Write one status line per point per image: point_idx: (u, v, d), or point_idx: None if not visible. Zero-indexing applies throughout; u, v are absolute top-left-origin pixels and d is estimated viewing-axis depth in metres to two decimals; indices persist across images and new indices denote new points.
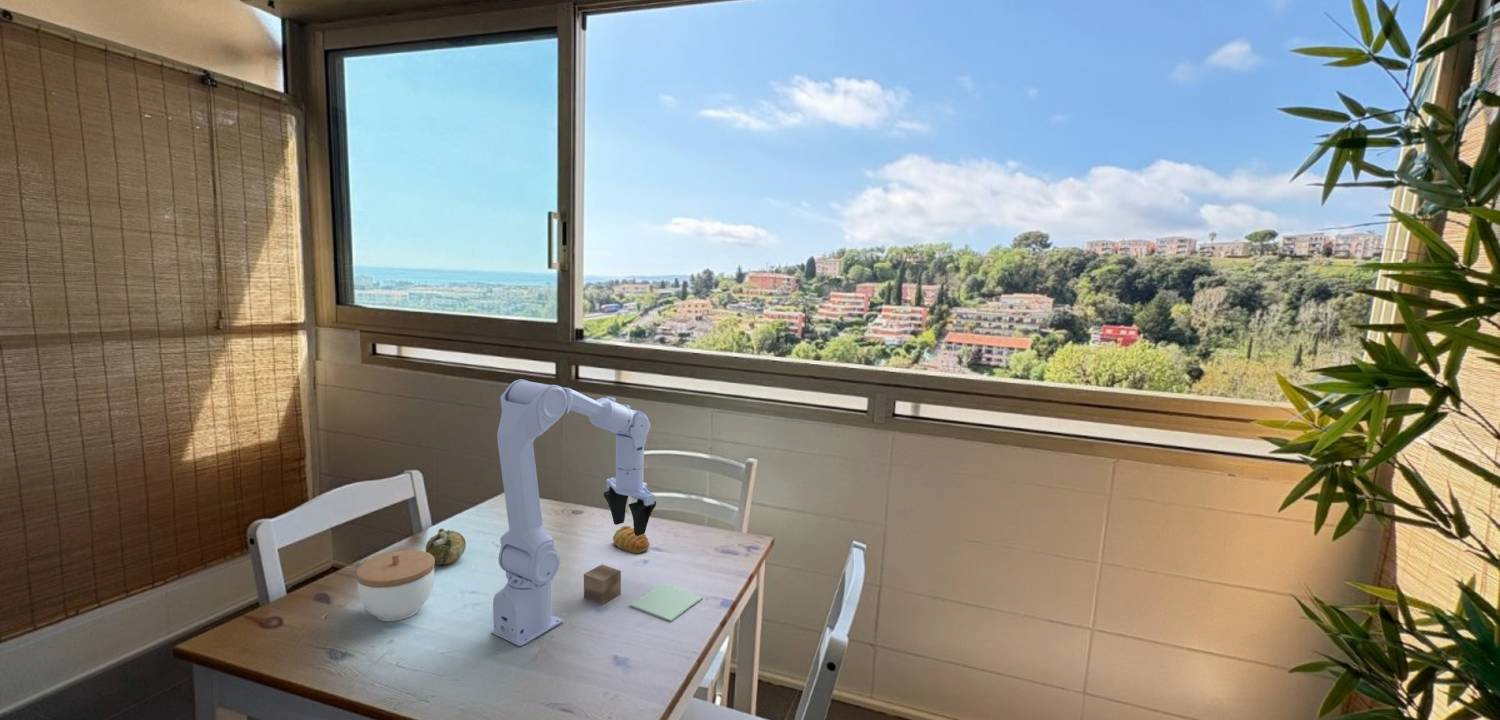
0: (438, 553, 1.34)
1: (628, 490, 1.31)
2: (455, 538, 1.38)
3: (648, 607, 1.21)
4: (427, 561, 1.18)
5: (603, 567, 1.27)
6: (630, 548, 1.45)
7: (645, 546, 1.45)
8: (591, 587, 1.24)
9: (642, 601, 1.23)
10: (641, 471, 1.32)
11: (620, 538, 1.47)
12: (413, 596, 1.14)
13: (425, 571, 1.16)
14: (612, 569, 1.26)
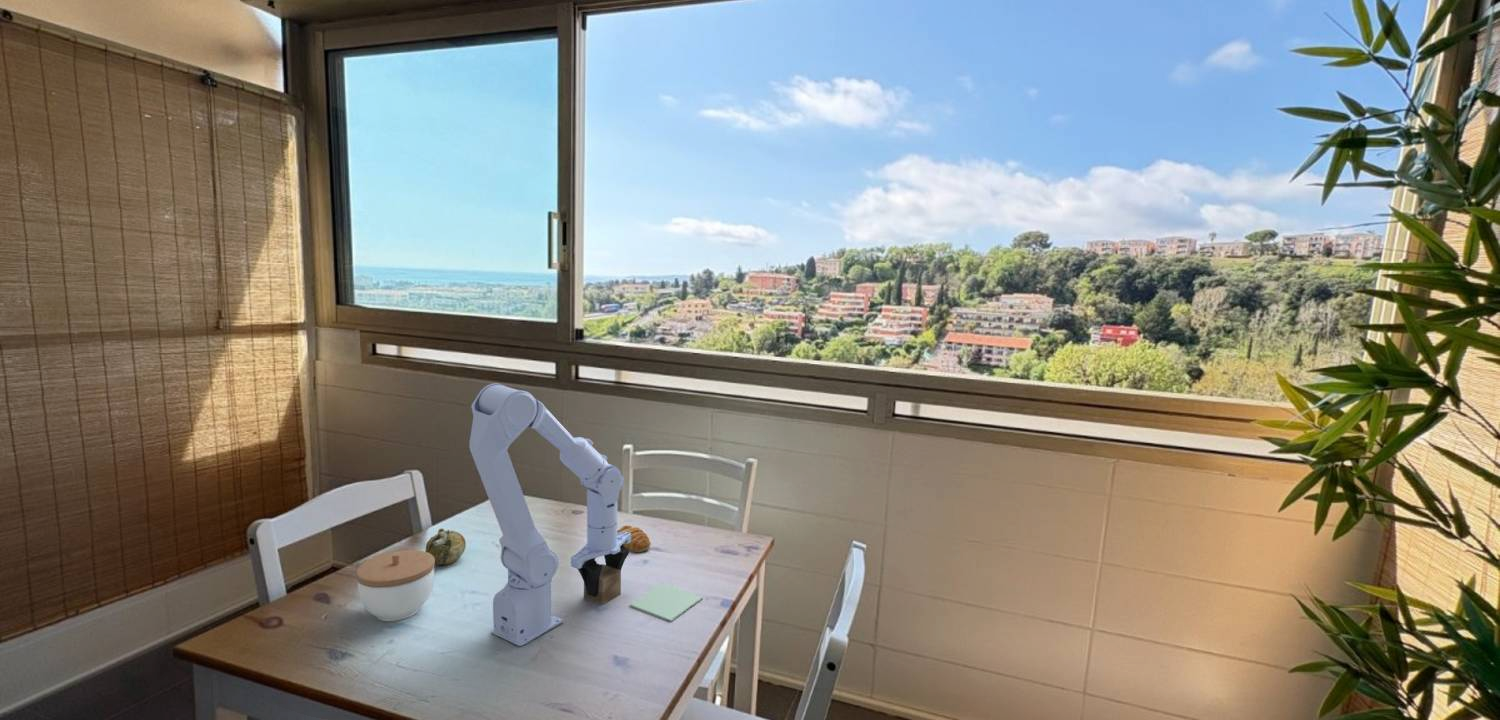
0: (438, 553, 1.34)
1: (587, 545, 1.23)
2: (455, 538, 1.38)
3: (648, 607, 1.21)
4: (427, 561, 1.18)
5: (603, 567, 1.27)
6: (632, 548, 1.45)
7: (646, 545, 1.46)
8: None
9: (642, 601, 1.23)
10: (596, 532, 1.21)
11: None
12: (413, 596, 1.14)
13: (425, 571, 1.16)
14: (613, 569, 1.26)
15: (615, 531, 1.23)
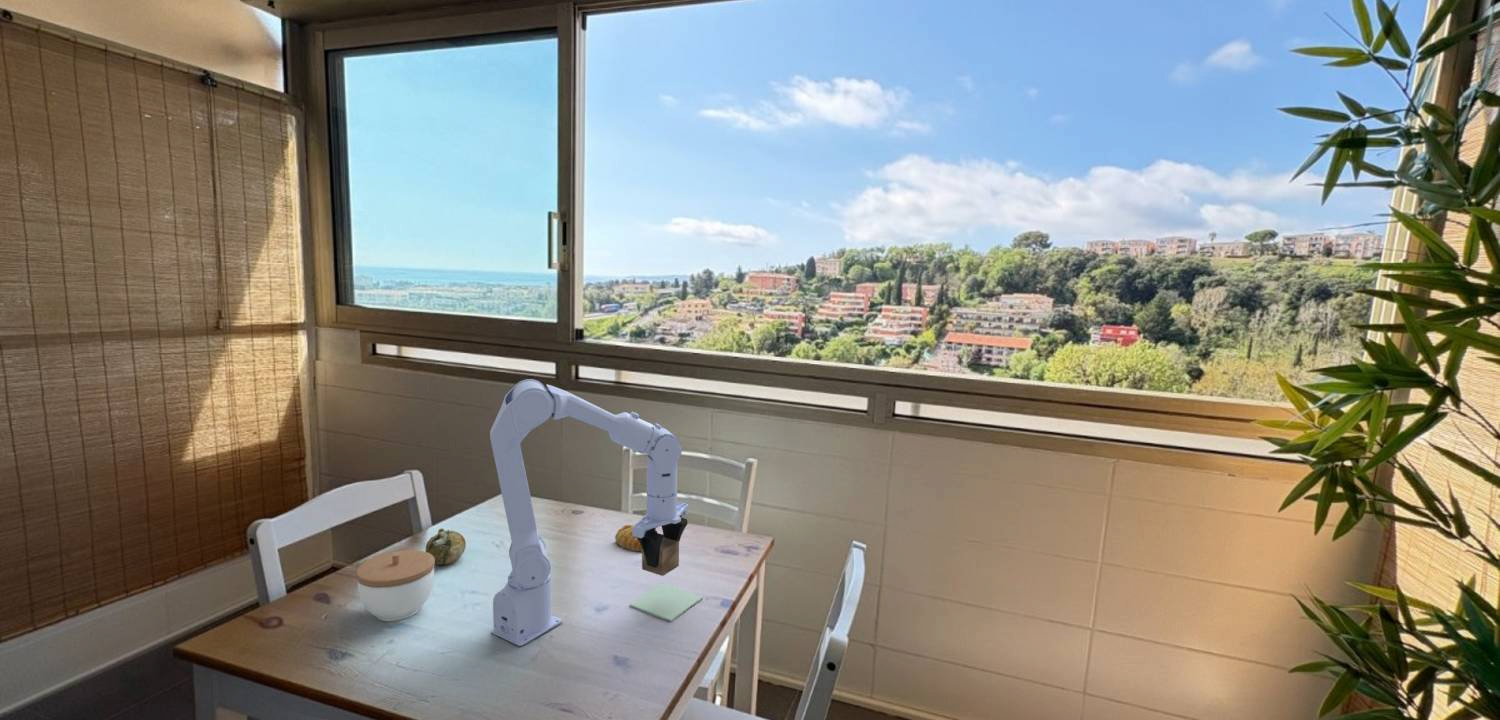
0: (438, 553, 1.34)
1: (646, 515, 1.21)
2: (455, 538, 1.38)
3: (648, 607, 1.21)
4: (427, 561, 1.18)
5: None
6: (633, 547, 1.46)
7: None
8: None
9: (642, 601, 1.23)
10: (657, 501, 1.18)
11: (622, 537, 1.48)
12: (413, 596, 1.14)
13: (425, 571, 1.16)
14: (670, 540, 1.24)
15: (675, 500, 1.21)
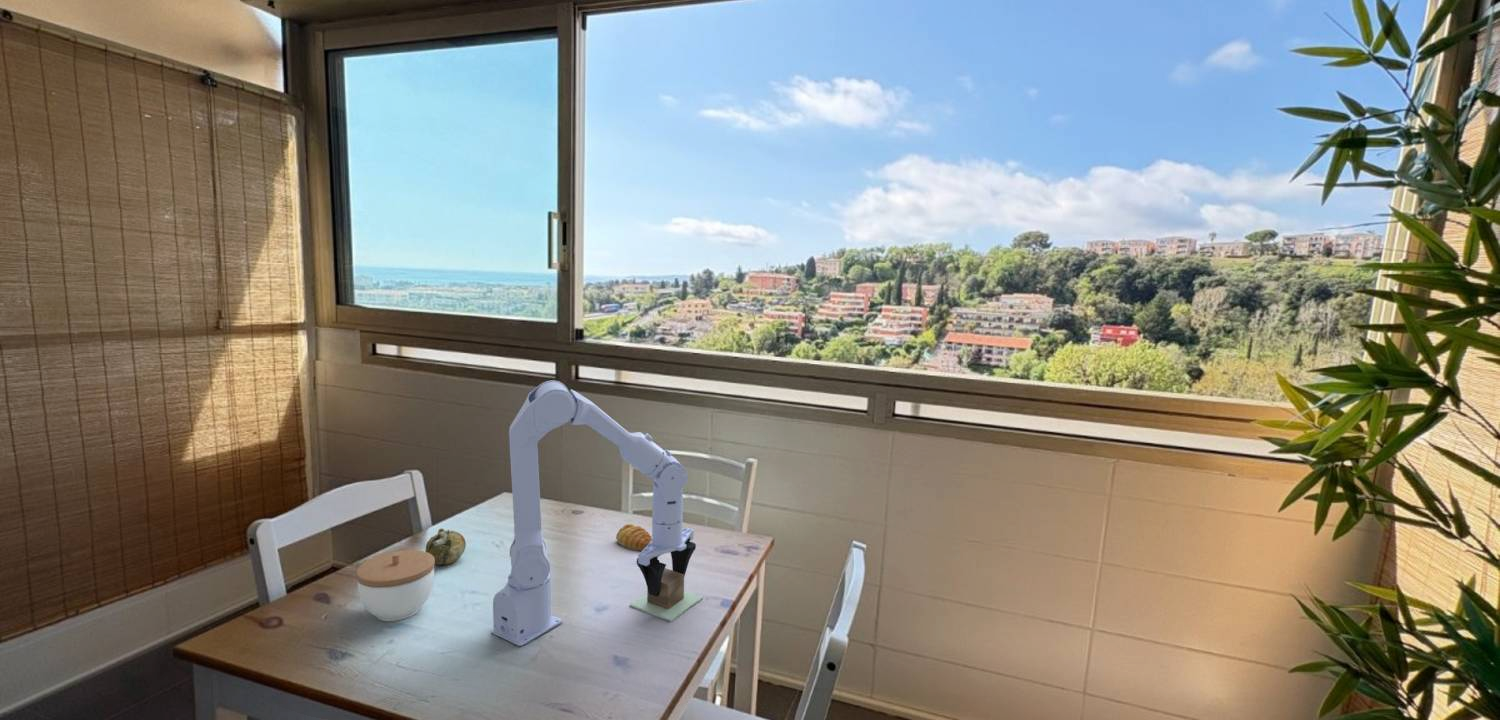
0: (438, 553, 1.34)
1: (652, 542, 1.21)
2: (455, 538, 1.38)
3: (648, 607, 1.21)
4: (427, 561, 1.18)
5: (665, 570, 1.25)
6: (635, 546, 1.46)
7: None
8: None
9: (642, 601, 1.23)
10: (663, 528, 1.19)
11: (623, 536, 1.48)
12: (413, 596, 1.14)
13: (425, 571, 1.16)
14: (676, 573, 1.25)
15: (681, 527, 1.21)
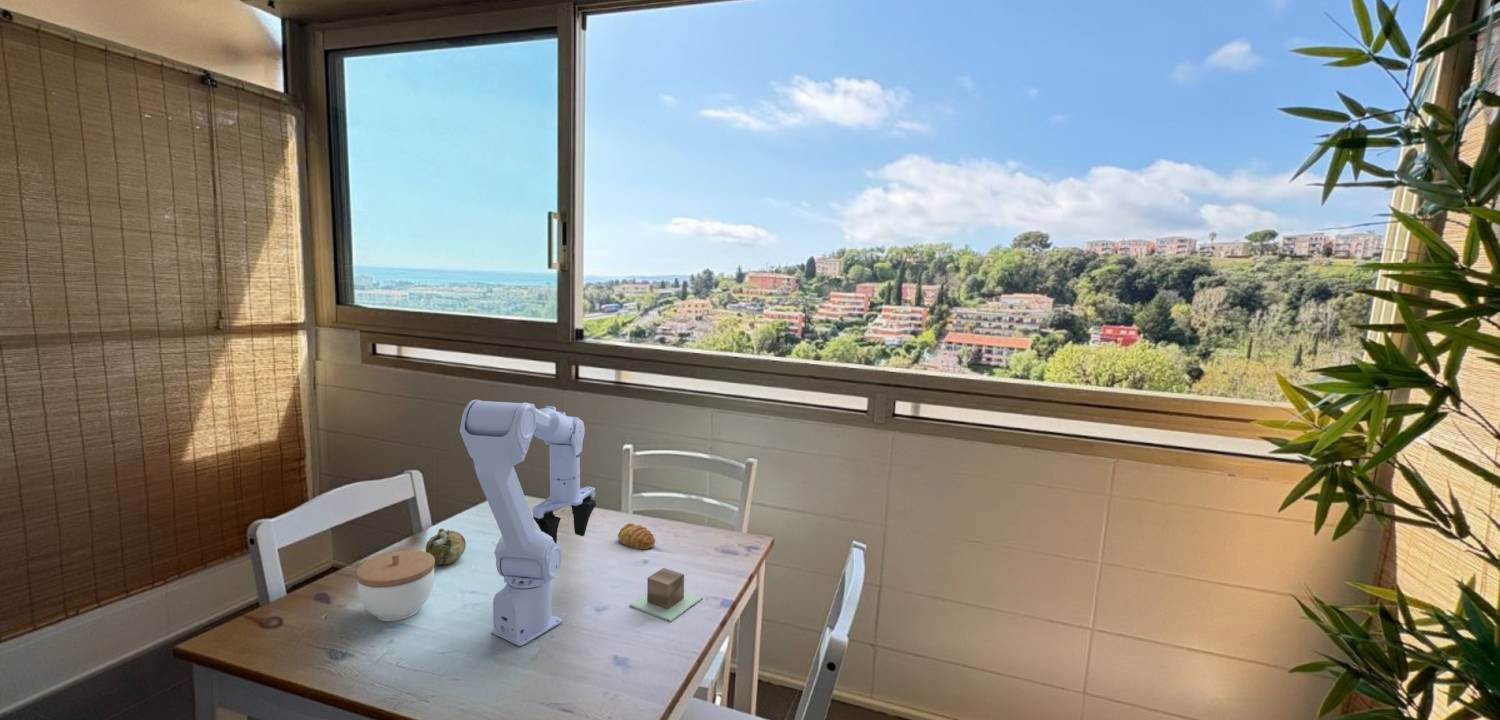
0: (438, 553, 1.34)
1: (550, 497, 1.26)
2: (455, 538, 1.38)
3: (648, 607, 1.21)
4: (427, 561, 1.18)
5: (665, 570, 1.25)
6: (637, 545, 1.47)
7: (652, 542, 1.48)
8: (655, 591, 1.22)
9: (642, 601, 1.23)
10: (558, 483, 1.24)
11: (626, 535, 1.49)
12: (413, 596, 1.14)
13: (425, 571, 1.16)
14: (676, 573, 1.25)
15: (577, 483, 1.26)
